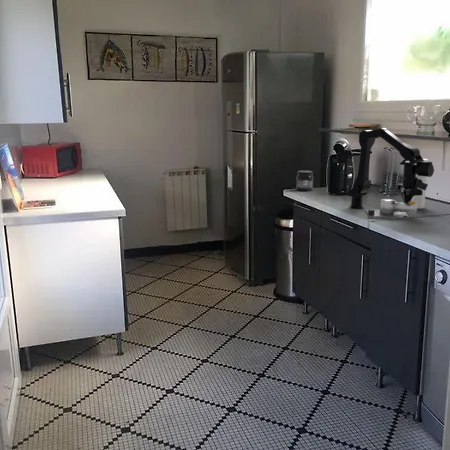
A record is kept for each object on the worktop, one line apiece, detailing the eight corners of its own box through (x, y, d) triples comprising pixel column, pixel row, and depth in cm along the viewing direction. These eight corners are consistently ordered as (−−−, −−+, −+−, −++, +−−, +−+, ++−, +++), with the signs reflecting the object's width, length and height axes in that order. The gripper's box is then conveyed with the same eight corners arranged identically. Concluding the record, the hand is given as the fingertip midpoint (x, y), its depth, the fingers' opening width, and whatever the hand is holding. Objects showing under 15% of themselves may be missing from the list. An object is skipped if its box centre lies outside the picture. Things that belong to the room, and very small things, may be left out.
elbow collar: (378, 213, 233) (379, 200, 232) (381, 210, 239) (382, 198, 238) (414, 216, 225) (415, 203, 224) (416, 213, 231) (417, 200, 230)
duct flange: (365, 211, 244) (365, 204, 243) (403, 212, 241) (404, 205, 240) (368, 218, 229) (368, 210, 228) (409, 219, 225) (410, 212, 225)
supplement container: (305, 188, 317) (305, 170, 314) (316, 190, 308) (317, 171, 305) (292, 189, 311) (293, 171, 308) (303, 192, 303) (304, 172, 300)
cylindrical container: (413, 205, 259) (417, 158, 254) (426, 207, 254) (431, 159, 249) (407, 207, 254) (411, 159, 249) (420, 209, 249) (424, 160, 244)
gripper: (435, 177, 220) (432, 211, 224) (418, 172, 239) (415, 203, 242) (411, 177, 220) (408, 211, 224) (395, 172, 238) (393, 203, 242)
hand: (406, 207), depth 233 cm, fingers closed
